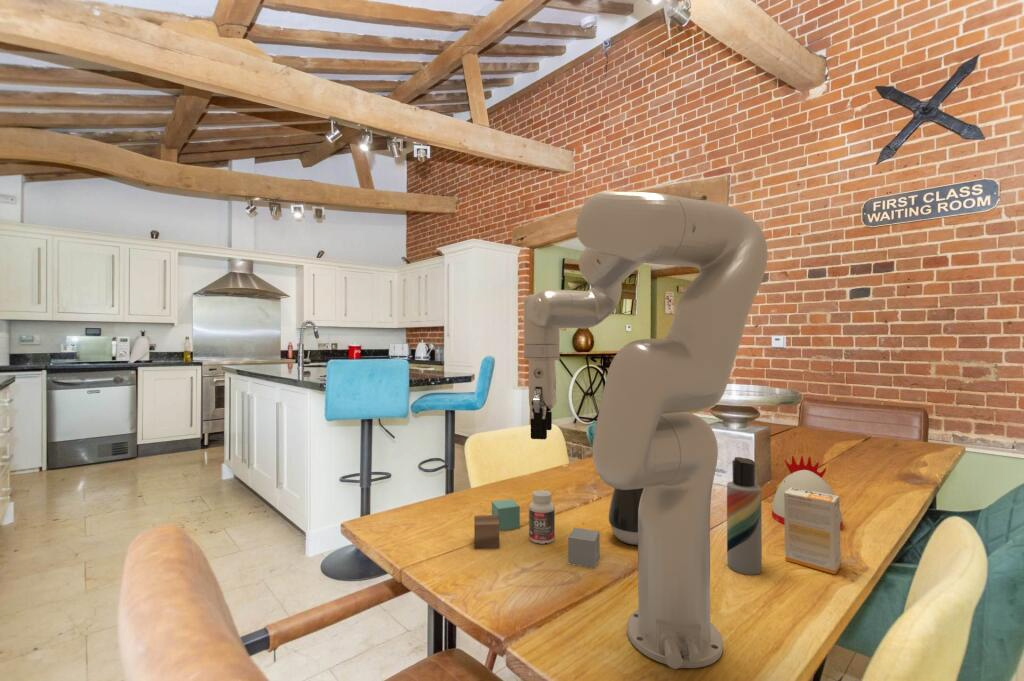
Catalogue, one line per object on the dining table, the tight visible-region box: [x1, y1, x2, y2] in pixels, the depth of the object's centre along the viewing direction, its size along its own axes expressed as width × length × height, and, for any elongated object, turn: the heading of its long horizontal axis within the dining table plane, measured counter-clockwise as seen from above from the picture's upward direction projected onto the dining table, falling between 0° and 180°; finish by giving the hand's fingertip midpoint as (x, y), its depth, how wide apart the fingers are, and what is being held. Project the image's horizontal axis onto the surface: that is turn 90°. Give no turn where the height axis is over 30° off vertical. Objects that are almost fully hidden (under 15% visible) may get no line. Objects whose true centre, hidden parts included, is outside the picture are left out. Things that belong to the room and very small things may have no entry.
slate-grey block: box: [567, 527, 601, 569], centre depth 90 cm, size 5×5×5 cm
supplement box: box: [784, 487, 842, 575], centre depth 88 cm, size 8×5×13 cm, turn 44°
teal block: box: [491, 498, 521, 532], centre depth 107 cm, size 5×5×5 cm
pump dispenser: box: [608, 488, 644, 546], centre depth 99 cm, size 10×10×15 cm
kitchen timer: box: [771, 455, 844, 531], centre depth 110 cm, size 14×14×15 cm
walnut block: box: [473, 514, 500, 550], centre depth 97 cm, size 5×5×5 cm
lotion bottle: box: [726, 456, 763, 575], centre depth 87 cm, size 6×6×20 cm
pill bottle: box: [528, 489, 556, 545], centre depth 99 cm, size 5×5×10 cm
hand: (541, 434), depth 100 cm, fingers open, 9 cm apart
